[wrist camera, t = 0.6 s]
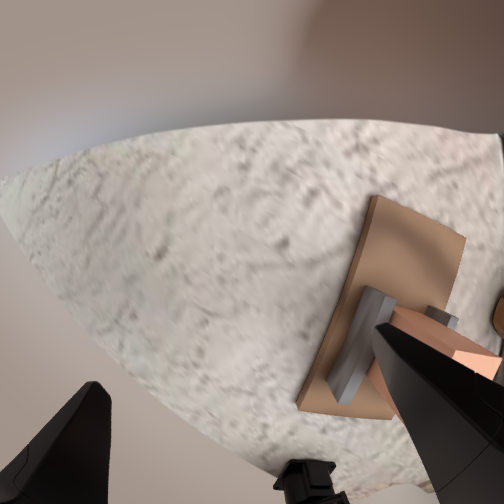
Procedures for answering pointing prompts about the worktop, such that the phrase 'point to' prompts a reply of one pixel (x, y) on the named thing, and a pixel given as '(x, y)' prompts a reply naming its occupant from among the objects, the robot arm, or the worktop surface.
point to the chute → (381, 305)
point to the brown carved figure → (499, 317)
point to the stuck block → (439, 340)
